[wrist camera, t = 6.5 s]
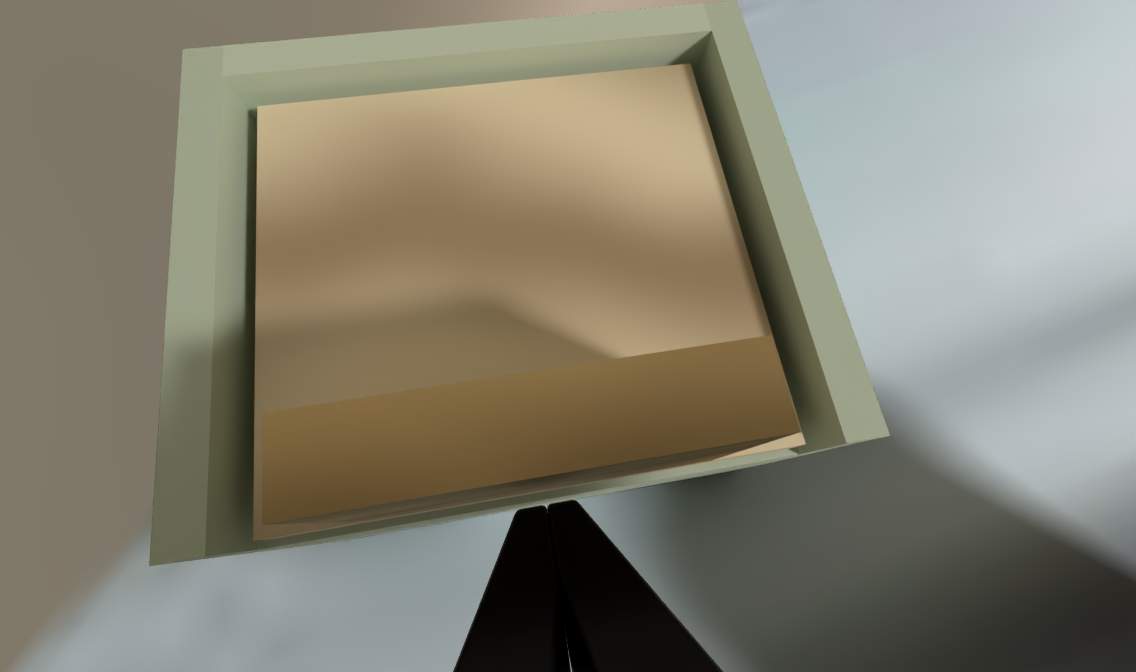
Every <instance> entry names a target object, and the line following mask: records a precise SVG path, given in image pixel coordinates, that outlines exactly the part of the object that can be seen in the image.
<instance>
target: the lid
mask: <svg viewBox="0 0 1136 672" xmlns="http://www.w3.org/2000/svg"><path fill="white" fill-rule="evenodd" d="M805 444H806V443H805V440H804V436H803V433H802V430H801V427H800V423H799V420H798V417H797V413H796V410H795V407H794V403H793V400H792V397H791V394H790V390H789V387H788V384H787V380H786V377H785V374H784V370H783V367H782V364H781V361H780V357H779V354H778V351H777V347H776V344H775V341H774V337H773V334H772V331H771V328H770V324H769V321H768V318H767V314H766V311H765V308H764V305H763V301H762V298H761V295H760V291H759V288H758V285H757V281H756V278H755V275H754V272H753V268H752V265H751V262H750V258H749V255H748V252H747V248H746V245H745V242H744V239H743V235H742V232H741V229H740V225H739V222H738V219H737V215H736V212H735V209H734V206H733V202H732V199H731V196H730V192H729V189H728V186H727V182H726V179H725V176H724V173H723V169H722V166H721V163H720V159H719V156H718V153H717V150H716V146H715V143H714V140H713V136H712V133H711V130H710V126H709V123H708V120H707V117H706V113H705V110H704V107H703V103H702V100H701V97H700V93H699V90H698V87H697V84H696V80H695V77H694V74H693V70H692V67H691V64H690V63H689V64H679V65H669V66H659V67H649V68H639V69H629V70H619V71H608V72H598V73H588V74H578V75H568V76H558V77H548V78H538V79H528V80H517V81H507V82H497V83H487V84H477V85H467V86H457V87H447V88H437V89H426V90H416V91H406V92H396V93H386V94H376V95H366V96H356V97H346V98H335V99H325V100H315V101H305V102H295V103H285V104H275V105H265V106H257V203H256V301H255V398H254V496H253V541H256V540H267V539H276V538H281V537H287V536H293V535H299V534H304V533H310V532H316V531H321V530H327V529H333V528H339V527H344V526H350V525H356V524H361V523H367V522H373V521H379V520H384V519H390V518H396V517H401V516H407V515H413V514H419V513H424V512H430V511H436V510H441V509H447V508H453V507H459V506H464V505H470V504H476V503H481V502H487V501H493V500H499V499H504V498H510V497H516V496H521V495H527V494H533V493H539V492H544V491H550V490H556V489H561V488H567V487H573V486H579V485H584V484H590V483H596V482H601V481H607V480H613V479H619V478H624V477H630V476H636V475H642V474H647V473H653V472H659V471H664V470H670V469H676V468H682V467H687V466H693V465H699V464H704V463H710V462H716V461H722V460H727V459H733V458H739V457H744V456H750V455H756V454H762V453H767V452H773V451H779V450H784V449H790V448H793V447H797V446H801V445H805Z"/></svg>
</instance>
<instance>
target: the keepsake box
mask: <svg viewBox="0 0 1136 672" xmlns="http://www.w3.org/2000/svg"><path fill="white" fill-rule="evenodd" d="M689 63H690V64H691V67H692V70H693V74H694V77H695V80H696V84H697V87H698V90H699V93H700V97H701V100H702V103H703V107H704V110H705V113H706V117H707V120H708V123H709V126H710V130H711V133H712V136H713V140H714V143H715V146H716V150H717V153H718V156H719V159H720V163H721V166H722V169H723V173H724V176H725V179H726V182H727V186H728V189H729V192H730V196H731V199H732V202H733V206H734V209H735V212H736V215H737V219H738V222H739V225H740V229H741V232H742V235H743V239H744V242H745V245H746V248H747V252H748V255H749V258H750V262H751V265H752V268H753V272H754V275H755V278H756V281H757V285H758V288H759V291H760V295H761V298H762V301H763V305H764V308H765V311H766V314H767V318H768V321H769V324H770V328H771V331H772V334H773V337H774V341H775V344H776V347H777V351H778V354H779V357H780V361H781V364H782V367H783V370H784V374H785V377H786V380H787V384H788V387H789V390H790V394H791V397H792V400H793V403H794V407H795V410H796V413H797V417H798V420H799V423H800V427H801V430H802V433H803V436H804V440H805V443H806V444H805V445H801V446H797V447H793V448H790V449H784V450H779V451H773V452H767V453H762V454H756V455H750V456H744V457H739V458H733V459H727V460H722V461H716V462H710V463H704V464H699V465H693V466H687V467H682V468H676V469H670V470H664V471H659V472H653V473H647V474H642V475H636V476H630V477H624V478H619V479H613V480H607V481H601V482H596V483H590V484H584V485H579V486H573V487H567V488H561V489H556V490H550V491H544V492H539V493H533V494H527V495H521V496H516V497H510V498H504V499H499V500H493V501H487V502H481V503H476V504H470V505H464V506H459V507H453V508H447V509H441V510H436V511H430V512H424V513H419V514H413V515H407V516H401V517H396V518H390V519H384V520H379V521H373V522H367V523H361V524H356V525H350V526H344V527H339V528H333V529H327V530H321V531H316V532H310V533H304V534H299V535H293V536H287V537H281V538H276V539H267V540H256V541H253V496H254V398H255V301H256V203H257V106H265V105H275V104H285V103H295V102H305V101H315V100H325V99H335V98H346V97H356V96H366V95H376V94H386V93H396V92H406V91H416V90H426V89H437V88H447V87H457V86H467V85H477V84H487V83H497V82H507V81H517V80H528V79H538V78H548V77H558V76H568V75H578V74H588V73H598V72H608V71H619V70H629V69H639V68H649V67H659V66H669V65H679V64H689ZM178 118H179V119H178V133H177V148H176V163H175V178H174V194H173V209H172V224H171V225H172V226H171V240H170V255H169V270H168V286H167V301H166V316H165V332H164V348H163V362H162V378H161V393H160V408H159V409H160V410H159V424H158V441H157V454H156V469H155V485H154V500H153V515H152V531H151V546H150V561H149V566H154V565H161V564H169V563H176V562H184V561H192V560H199V559H207V558H215V557H222V556H230V555H237V554H245V553H253V552H260V551H268V550H276V549H283V548H291V547H299V546H306V545H314V544H321V543H329V542H336V541H342V540H347V539H353V538H359V537H364V536H370V535H376V534H381V533H387V532H392V531H398V530H404V529H409V528H415V527H421V526H426V525H432V524H438V523H443V522H449V521H455V520H460V519H466V518H471V517H477V516H483V515H488V514H494V513H500V512H505V511H511V510H517V509H522V508H528V507H533V506H539V505H545V504H550V503H556V502H562V501H567V500H573V499H579V498H584V497H590V496H595V495H601V494H607V493H612V492H618V491H624V490H629V489H635V488H641V487H646V486H652V485H657V484H663V483H669V482H674V481H680V480H686V479H691V478H697V477H703V476H708V475H714V474H719V473H725V472H731V471H736V470H741V469H745V468H750V467H754V466H759V465H763V464H767V463H772V462H776V461H781V460H785V459H790V458H794V457H798V456H803V455H807V454H812V453H816V452H821V451H825V450H829V449H834V448H838V447H843V446H847V445H851V444H856V443H860V442H865V441H869V440H874V439H878V438H882V437H887V436H890V434H889V431H888V428H887V425H886V422H885V420H884V417H883V414H882V411H881V408H880V405H879V403H878V400H877V397H876V394H875V391H874V388H873V386H872V383H871V380H870V377H869V374H868V371H867V369H866V366H865V363H864V360H863V357H862V354H861V352H860V349H859V346H858V343H857V340H856V337H855V335H854V332H853V329H852V326H851V323H850V320H849V318H848V315H847V312H846V309H845V306H844V303H843V301H842V298H841V295H840V292H839V289H838V286H837V284H836V281H835V278H834V275H833V272H832V269H831V267H830V264H829V261H828V258H827V255H826V252H825V250H824V247H823V244H822V241H821V238H820V235H819V233H818V230H817V227H816V224H815V221H814V218H813V216H812V213H811V210H810V207H809V204H808V201H807V199H806V196H805V193H804V190H803V187H802V184H801V182H800V179H799V176H798V173H797V170H796V167H795V165H794V162H793V159H792V156H791V153H790V150H789V148H788V145H787V142H786V139H785V136H784V133H783V131H782V128H781V125H780V122H779V119H778V116H777V114H776V111H775V108H774V105H773V102H772V99H771V97H770V94H769V91H768V88H767V85H766V82H765V80H764V77H763V74H762V71H761V68H760V65H759V62H758V60H757V57H756V54H755V51H754V48H753V45H752V43H751V40H750V37H749V34H748V31H747V28H746V26H745V23H744V20H743V17H742V14H741V11H740V9H739V6H738V3H737V1H727V2H716V3H705V4H693V5H682V6H671V7H659V8H648V9H636V10H625V11H615V12H603V13H591V14H580V15H568V16H557V17H545V18H534V19H523V20H511V21H500V22H488V23H477V24H466V25H454V26H443V27H432V28H420V29H409V30H399V31H386V32H374V33H363V34H352V35H341V36H329V37H318V38H307V39H295V40H283V41H272V42H261V43H249V44H239V45H227V46H215V47H204V48H192V49H183V56H182V71H181V87H180V103H179V117H178Z"/></svg>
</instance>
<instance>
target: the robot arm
mask: <svg viewBox="0 0 1136 672" xmlns="http://www.w3.org/2000/svg"><path fill="white" fill-rule="evenodd" d="M547 512H548V513H547ZM566 638H567V639H566ZM567 645H568V646H567ZM568 651H569V654H568ZM569 657H570V662H571V668H572V672H723V671H722V670H721V669H720V667H719V666H718V665H717V664H716V663H715V662H714V660H713V659H712V658H711V657H710V656H709V655H708V653H707V652H706V651H705V650H704V649H703V648H702V646H701V645H700V644H699V643H698V642H697V641H696V639H695V638H694V637H693V636H692V635H691V634H690V632H689V631H688V630H687V629H686V628H685V627H684V625H683V624H682V623H681V622H680V621H679V619H678V618H677V617H676V616H675V615H674V614H673V612H672V611H671V610H670V609H669V608H668V607H667V605H666V604H665V603H664V602H663V601H662V600H661V598H660V597H659V596H658V595H657V594H656V593H655V591H654V590H653V589H652V588H651V587H650V586H649V584H648V583H647V582H646V581H645V580H644V579H643V577H642V576H641V575H640V574H639V573H638V572H637V570H636V569H635V568H634V567H633V566H632V565H631V563H630V562H629V561H628V560H627V559H626V558H625V556H624V555H623V554H622V553H621V552H620V551H619V549H618V548H617V547H616V546H615V545H614V544H613V542H612V541H611V540H610V539H609V538H608V537H607V535H606V534H605V533H604V532H603V531H602V530H601V528H600V527H599V526H598V525H597V524H596V523H595V521H594V520H593V519H592V518H591V517H590V516H589V514H588V513H587V512H586V511H585V510H584V509H583V507H582V506H581V505H580V504H579V503H578V502H577V501H575V500H568V501H562V502H556V503H551V504H550V505H548V508H547V509H546V507H545V506H543V505H540V506H534V507H528V508H523V509H519V510H518V511H517V512H516V513H515V515H514V518H513V520H512V523H511V525H510V528H509V530H508V533H507V536H506V538H505V541H504V543H503V546H502V548H501V551H500V553H499V556H498V559H497V561H496V564H495V566H494V569H493V571H492V574H491V576H490V579H489V581H488V584H487V587H486V589H485V592H484V594H483V597H482V599H481V602H480V604H479V607H478V610H477V612H476V615H475V617H474V620H473V622H472V625H471V627H470V630H469V633H468V635H467V638H466V640H465V643H464V645H463V648H462V650H461V653H460V656H459V658H458V661H457V663H456V666H455V668H454V671H453V672H571V669H570V662H569Z"/></svg>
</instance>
